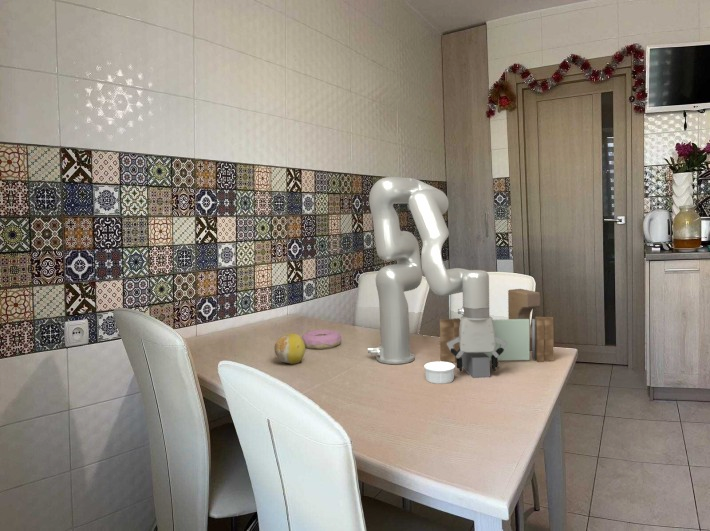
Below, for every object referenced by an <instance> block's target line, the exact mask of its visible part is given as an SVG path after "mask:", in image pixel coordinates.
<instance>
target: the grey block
mask: <svg viewBox="0 0 710 531" xmlns="http://www.w3.org/2000/svg"><path fill="white" fill-rule="evenodd" d="M461 358H462V369H463V370H464V371H465V372H466V373H468V375H469V376H470V377H471V378H472V379H481V378H483V379H485V378H490V377H491V373H490V372H491V370H490V369H491V368H490V367H491V365H490V363H491V360H490V358H489V357H488V356H487V355H486V354H485V353H465V352H464V353H463V355H462V356H461Z"/></svg>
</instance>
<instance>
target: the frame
mask: <svg viewBox="0 0 710 531" xmlns="http://www.w3.org/2000/svg"><path fill="white" fill-rule="evenodd" d="M534 319H535V360H534V361H536V362H537V363H544V362H554V317H553V316H535V317H534ZM460 320H461V317H460V318H459V317H457V318H455V317H454V318H439V345H440V346H439V348H440V352H439V354H440V361H441V362H449V363H452V362H453V363H452V364H456V356H455V355H453V354H452V353H451V351H450V349H449V348H448V346H447V342H448V341H450V340H452V339H454V338H456V337H458V336H459V326H460ZM453 348H454V349H455V350H456V351H457V350H458V349H459V348H460V347H459V342H458V343H456V344H454V345H453Z"/></svg>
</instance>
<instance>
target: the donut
mask: <svg viewBox="0 0 710 531" xmlns="http://www.w3.org/2000/svg"><path fill="white" fill-rule="evenodd" d="M300 337H301V338H302V339H303V341H304V344H305V348H306V349H309V350H327V349H332V348H334V347H337V346H339V345H340V344H341V343H342V340H343V339H342V334H341V333H340V332H338V331H337V330H332V329H315V330H314V329H313V330H309V331H307V332H305V333H304V334H303V335H302V336H300Z"/></svg>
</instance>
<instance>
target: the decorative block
mask: <svg viewBox="0 0 710 531" xmlns="http://www.w3.org/2000/svg"><path fill="white" fill-rule="evenodd" d="M507 294H508V295H507V296H508V297H507V298H508V299H507V300H508V301H507V303H508V306H507V308H508V311H507V312H508V314H507V317H508V318H507V319H529V352H532V323H531V313H532V311H533V309H535V308H537V307H541V293H540V292H539V291H534V290H528V289H523V288H515V289H509V290H507Z"/></svg>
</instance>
